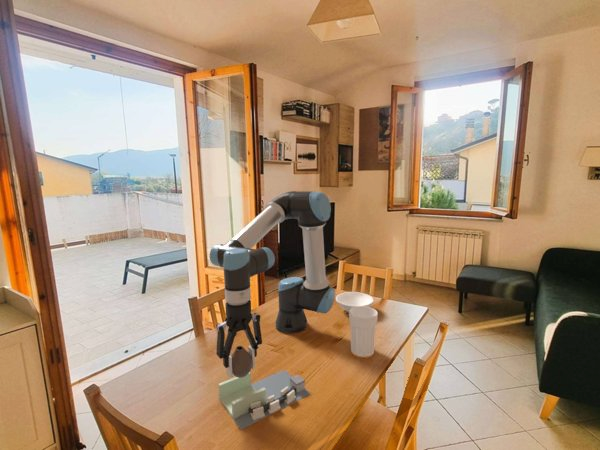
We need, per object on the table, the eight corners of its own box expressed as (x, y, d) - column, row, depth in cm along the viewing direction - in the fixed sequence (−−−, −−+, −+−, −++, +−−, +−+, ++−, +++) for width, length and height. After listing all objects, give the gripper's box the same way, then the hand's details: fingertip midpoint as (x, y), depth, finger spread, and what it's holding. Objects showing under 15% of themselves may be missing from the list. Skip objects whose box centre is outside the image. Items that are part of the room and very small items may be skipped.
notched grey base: (246, 409, 96) (246, 406, 96) (296, 385, 107) (296, 382, 107) (252, 418, 93) (252, 414, 93) (304, 392, 104) (304, 388, 104)
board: (218, 400, 102) (218, 398, 102) (284, 372, 117) (284, 369, 117) (241, 433, 90) (240, 429, 89) (311, 396, 104) (311, 393, 104)
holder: (219, 397, 102) (218, 383, 102) (249, 384, 109) (248, 371, 108) (234, 419, 93) (233, 404, 92) (266, 403, 99) (266, 389, 99)
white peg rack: (244, 408, 98) (243, 399, 97) (297, 382, 109) (297, 374, 109) (254, 422, 92) (254, 412, 92) (309, 393, 104) (309, 384, 103)
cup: (342, 348, 132) (343, 308, 130) (365, 342, 137) (366, 304, 134) (358, 363, 122) (359, 320, 119) (382, 356, 126) (383, 314, 124)
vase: (234, 383, 95) (231, 357, 93) (227, 371, 101) (225, 345, 99) (255, 376, 98) (254, 349, 96) (248, 364, 104) (246, 339, 102)
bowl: (376, 319, 159) (377, 306, 158) (337, 319, 159) (337, 306, 158) (369, 303, 178) (369, 291, 177) (333, 303, 178) (334, 291, 177)
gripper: (210, 313, 87) (214, 390, 90) (273, 296, 98) (274, 365, 102) (201, 304, 93) (205, 376, 96) (261, 289, 104) (262, 355, 108)
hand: (240, 371), depth 99 cm, fingers closed on vase, 7 cm apart
